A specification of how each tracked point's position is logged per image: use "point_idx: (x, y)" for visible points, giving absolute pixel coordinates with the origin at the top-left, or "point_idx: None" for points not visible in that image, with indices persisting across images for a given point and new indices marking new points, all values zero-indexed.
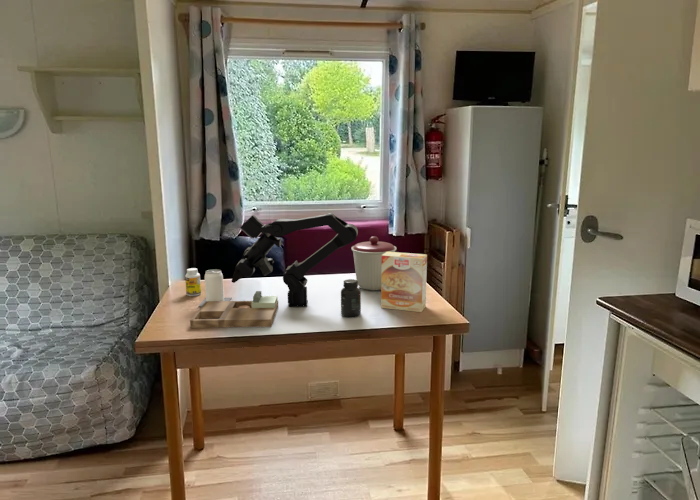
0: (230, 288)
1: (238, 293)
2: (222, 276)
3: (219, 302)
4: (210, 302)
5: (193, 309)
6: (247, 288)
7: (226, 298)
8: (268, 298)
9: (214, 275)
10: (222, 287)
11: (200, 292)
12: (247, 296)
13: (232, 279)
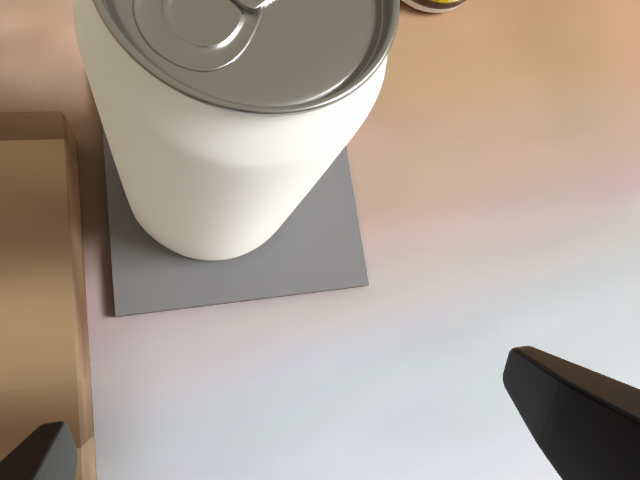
0: (597, 193)
1: (501, 296)
2: (259, 177)
3: (19, 267)
4: (17, 170)
5: (34, 44)
6: (627, 326)
7: (337, 246)
8: None
9: (101, 43)
10: (209, 224)
11: (433, 6)
12: (441, 406)
13: (2, 467)
